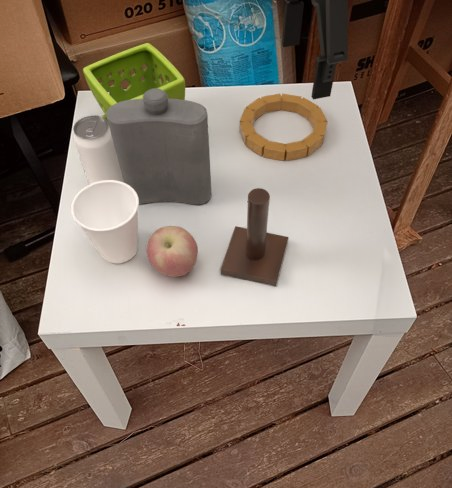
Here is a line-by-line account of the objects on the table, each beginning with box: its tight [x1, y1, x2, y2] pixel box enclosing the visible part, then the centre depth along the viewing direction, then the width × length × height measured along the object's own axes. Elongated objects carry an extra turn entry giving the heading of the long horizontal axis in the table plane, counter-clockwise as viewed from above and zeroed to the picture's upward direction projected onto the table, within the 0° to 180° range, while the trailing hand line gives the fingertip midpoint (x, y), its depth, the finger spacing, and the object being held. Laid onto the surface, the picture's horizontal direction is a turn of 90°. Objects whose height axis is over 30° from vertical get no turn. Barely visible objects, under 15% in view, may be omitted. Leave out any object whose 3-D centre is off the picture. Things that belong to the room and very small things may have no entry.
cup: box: [70, 180, 140, 264], centre depth 78 cm, size 10×10×11 cm
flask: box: [106, 88, 213, 206], centre depth 80 cm, size 15×6×20 cm, turn 88°
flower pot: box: [82, 42, 186, 125], centre depth 92 cm, size 14×14×13 cm
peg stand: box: [220, 187, 290, 287], centre depth 75 cm, size 9×9×14 cm
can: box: [72, 114, 124, 185], centre depth 86 cm, size 6×6×12 cm
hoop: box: [239, 93, 328, 162], centre depth 96 cm, size 16×16×2 cm
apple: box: [146, 225, 199, 277], centre depth 77 cm, size 8×8×8 cm
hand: (304, 69), depth 78 cm, fingers open, 13 cm apart
